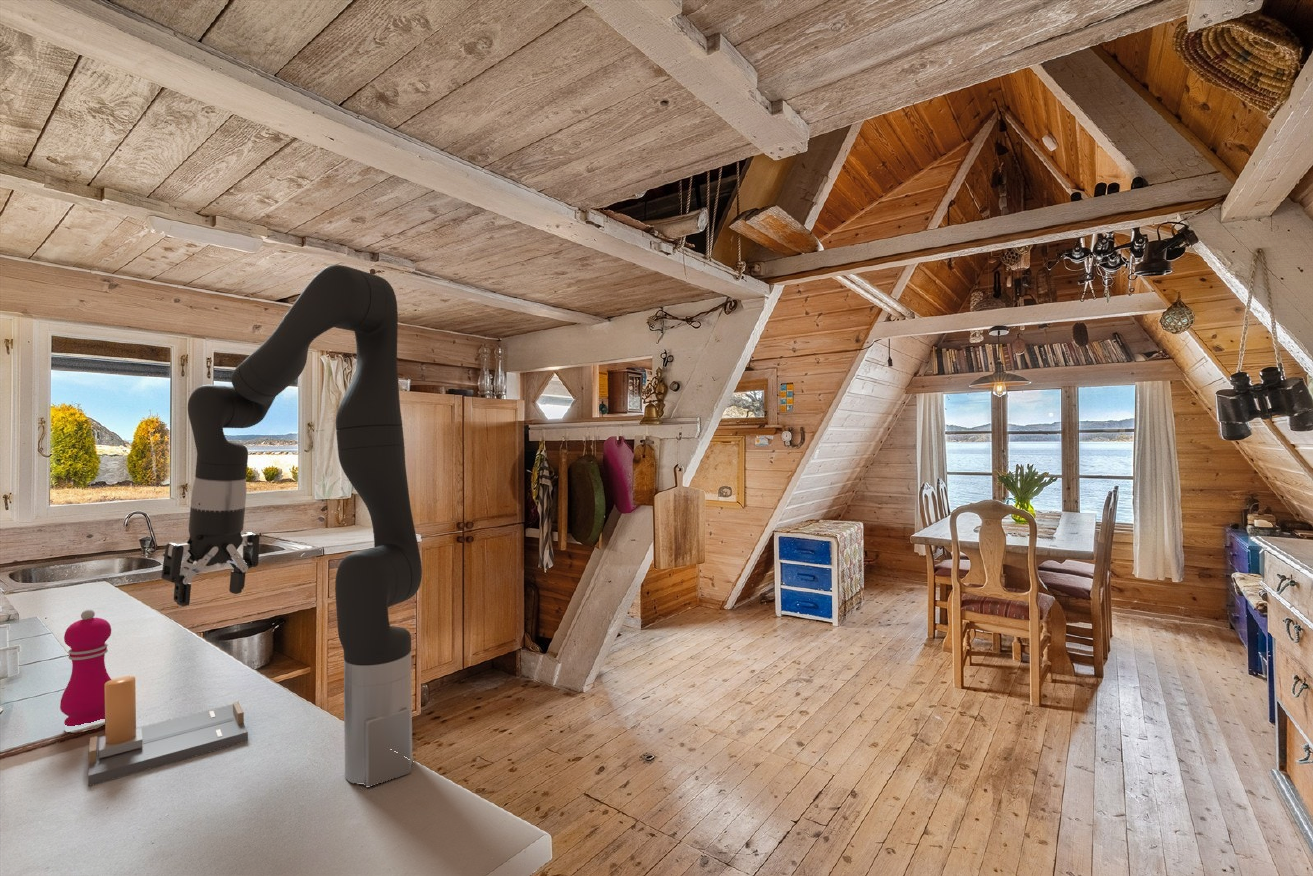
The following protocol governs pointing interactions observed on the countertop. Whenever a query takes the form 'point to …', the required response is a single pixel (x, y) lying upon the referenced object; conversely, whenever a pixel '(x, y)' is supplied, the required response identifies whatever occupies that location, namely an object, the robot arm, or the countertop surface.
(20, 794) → the countertop surface
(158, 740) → the fader track
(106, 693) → the fader
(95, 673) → the pepper mill
